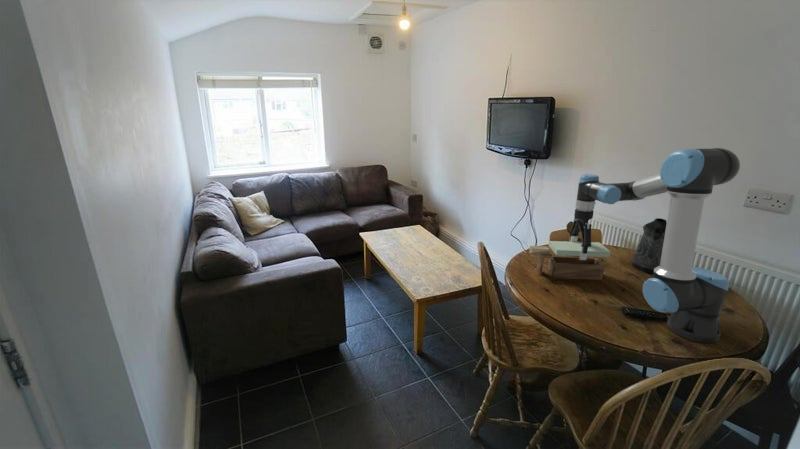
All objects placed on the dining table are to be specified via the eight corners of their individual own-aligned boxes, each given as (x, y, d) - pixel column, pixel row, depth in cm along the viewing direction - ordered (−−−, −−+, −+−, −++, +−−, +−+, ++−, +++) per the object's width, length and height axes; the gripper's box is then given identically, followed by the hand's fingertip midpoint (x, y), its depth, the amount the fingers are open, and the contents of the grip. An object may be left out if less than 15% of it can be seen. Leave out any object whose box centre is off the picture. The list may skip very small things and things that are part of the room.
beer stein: (660, 262, 193) (671, 215, 185) (679, 279, 175) (693, 228, 167) (625, 259, 196) (634, 213, 187) (640, 276, 177) (652, 225, 169)
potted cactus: (573, 252, 204) (579, 220, 198) (587, 262, 191) (593, 229, 185) (557, 252, 203) (562, 221, 198) (570, 263, 191) (575, 229, 185)
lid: (609, 257, 168) (610, 251, 167) (556, 255, 170) (557, 250, 169) (598, 247, 179) (599, 242, 179) (548, 245, 181) (549, 240, 181)
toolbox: (601, 279, 174) (606, 258, 170) (540, 277, 176) (543, 256, 172) (593, 270, 183) (597, 250, 179) (535, 268, 185) (537, 248, 181)
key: (548, 254, 175) (549, 248, 174) (530, 254, 176) (531, 248, 175) (546, 252, 178) (547, 246, 177) (529, 251, 179) (530, 245, 178)
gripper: (604, 217, 157) (596, 265, 163) (583, 202, 180) (576, 245, 186) (586, 216, 157) (578, 264, 164) (566, 202, 180) (560, 244, 187)
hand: (577, 254), depth 175 cm, fingers closed on lid, 12 cm apart
